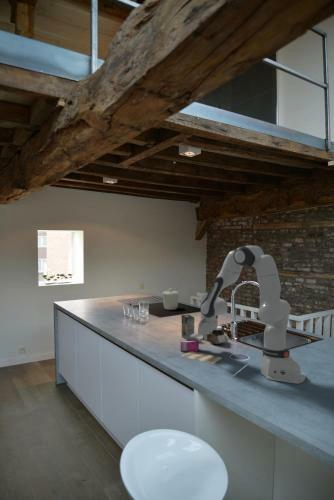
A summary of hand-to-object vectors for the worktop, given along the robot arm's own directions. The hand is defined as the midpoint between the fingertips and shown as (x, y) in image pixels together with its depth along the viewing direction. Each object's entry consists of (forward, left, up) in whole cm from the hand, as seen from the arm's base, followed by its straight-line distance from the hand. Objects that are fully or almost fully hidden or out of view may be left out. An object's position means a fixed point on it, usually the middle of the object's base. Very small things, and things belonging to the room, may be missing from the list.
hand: (207, 338), depth 216 cm
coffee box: (+27, -20, -9) cm, 35 cm away
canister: (+94, -97, -9) cm, 135 cm away
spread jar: (+3, -22, -9) cm, 24 cm away
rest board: (-2, +11, -9) cm, 14 cm away
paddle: (+2, 0, -1) cm, 3 cm away
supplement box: (+6, +1, -6) cm, 8 cm away
